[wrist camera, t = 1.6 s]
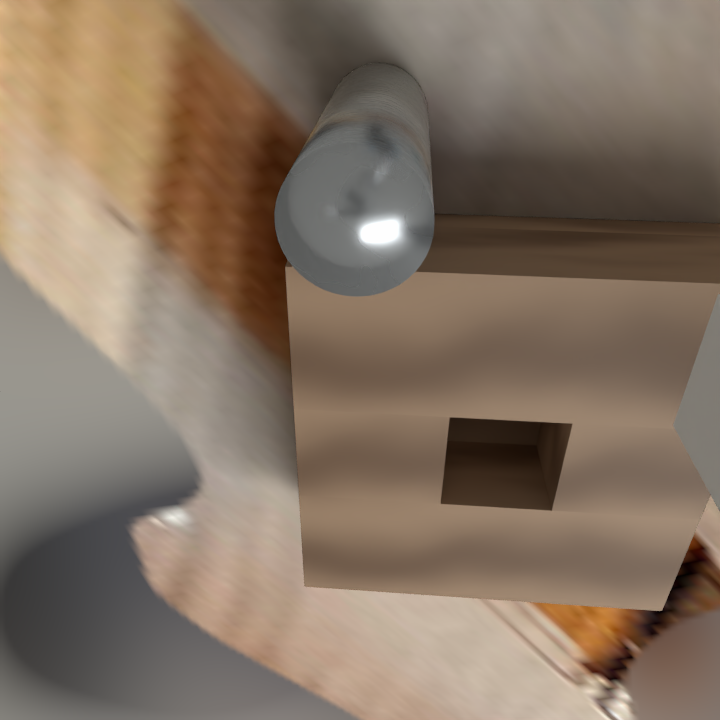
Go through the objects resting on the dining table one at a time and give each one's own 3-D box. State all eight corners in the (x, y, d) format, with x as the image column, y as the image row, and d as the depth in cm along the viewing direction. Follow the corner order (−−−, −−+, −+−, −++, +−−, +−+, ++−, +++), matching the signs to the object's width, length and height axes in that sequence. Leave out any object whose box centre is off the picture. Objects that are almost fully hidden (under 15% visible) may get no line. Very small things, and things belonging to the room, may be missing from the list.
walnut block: (308, 209, 28) (285, 266, 23) (728, 223, 27) (798, 286, 22) (319, 501, 38) (304, 586, 33) (628, 520, 37) (661, 611, 32)
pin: (328, 61, 25) (269, 140, 15) (431, 64, 25) (440, 145, 15) (330, 164, 27) (279, 293, 17) (424, 167, 27) (428, 299, 17)
